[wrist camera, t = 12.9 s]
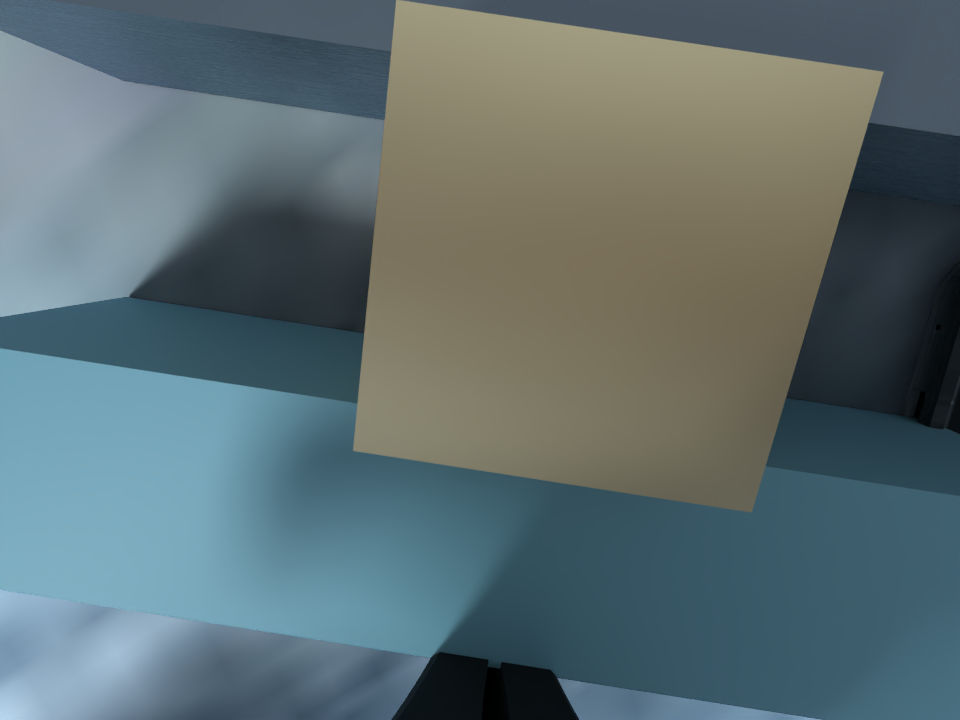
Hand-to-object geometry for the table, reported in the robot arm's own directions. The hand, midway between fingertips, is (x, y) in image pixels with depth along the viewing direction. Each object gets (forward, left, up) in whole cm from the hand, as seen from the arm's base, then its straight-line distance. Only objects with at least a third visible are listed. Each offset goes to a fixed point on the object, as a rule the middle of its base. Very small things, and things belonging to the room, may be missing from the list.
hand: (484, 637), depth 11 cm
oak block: (+8, 0, -2) cm, 8 cm away
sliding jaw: (+3, 0, -2) cm, 4 cm away
